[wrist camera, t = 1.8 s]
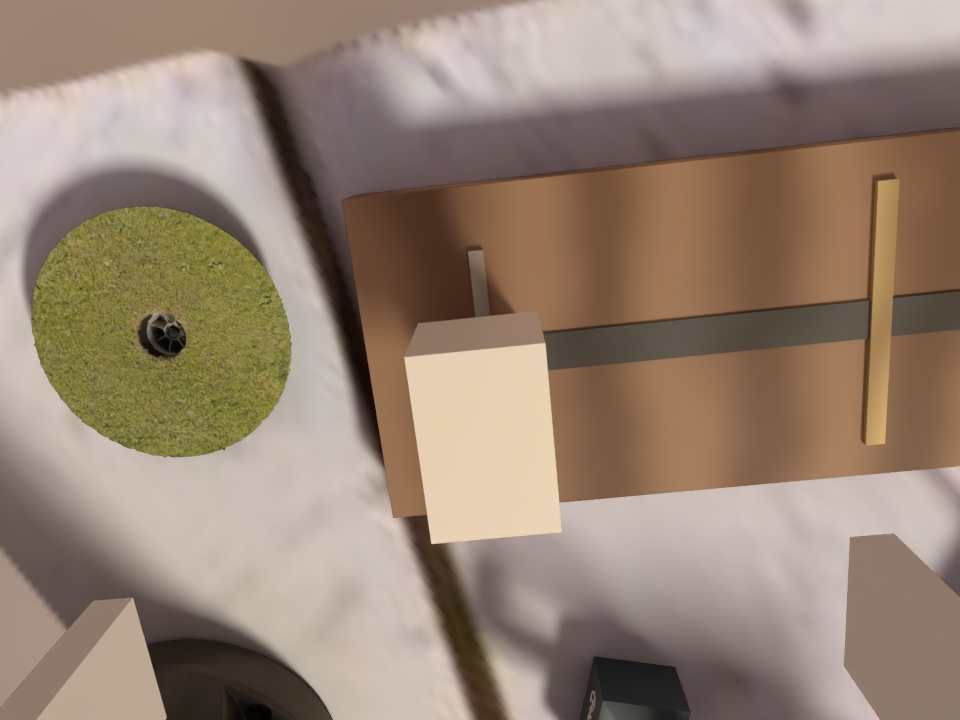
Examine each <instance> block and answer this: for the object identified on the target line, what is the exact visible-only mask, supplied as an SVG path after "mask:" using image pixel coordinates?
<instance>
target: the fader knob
mask: <svg viewBox="0 0 960 720" xmlns="http://www.w3.org/2000/svg"><path fill="white" fill-rule="evenodd" d="M404 359H405V366H406V373H407V379H408V386H409V393H410V400H411V407H412V414H413V420H414V427H415V434H416V441H417V448H418V455H419V462H420V468H421V475H422V482H423V489H424V496H425V503H426V509H427V516H428V523H429V530H430V537H431V544H436V543H447V542H459V541H470V540H481V539H492V538H503V537H515V536H526V535H537V534H548V533H559V532H562V528H561V516H560V505H559V493H558V482H557V470H556V459H555V447H554V436H553V424H552V413H551V401H550V390H549V378H548V367H547V355H546V344H545V339H544V336H543V332H542V328H541V325H540V321H539V317H538V313H537V311H533V312H523V313H514V314H504V315H494V316H485V317H475V318H465V319H456V320H446V321H436V322H427V323H418V325H417V327H416V330H415V332H414V335H413V337H412V340H411V342H410V345H409V347H408V349H407V352H406V354H405V357H404Z"/></svg>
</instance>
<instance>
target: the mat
mask: <svg viewBox="0 0 960 720" xmlns="http://www.w3.org/2000/svg"><path fill="white" fill-rule="evenodd" d="M37 277H38V279H37V280H36V285H35V288H34V293H33V299H34V301H33V302H32V333H33V336H34V339H35V344H34V345H35V347H36V349H37V352H38V356H39V359H40V364H41V366H42V368H43V369H44V372H45V374H46V375H47V377H48V379H49V382H50V384H51V385H52V386H53V388H54V389H55V390H56V392H57V393H58V394H59V396H60V398H61V399H62V400H63V401H64V402H65V403H66V404H67V406H68V407H69V408H70V409H71V411H72V412H73V413H74V414H76V416H77V417H78V418H80V419H82V422H84V423H85V424H87V425H88V426H90V427H92V428H93V429H95V430H97V432H98V433H99V434H101V435H103V436H104V437H108V438H109V439H110V440H112V441H115V442H117V443H119V444H121V445H122V446H124V447H127V448H130V449H136V450H137V451H140V452H144V453H149V454H151V455H159V456H164V457H166V456H171V457H190V456H197V455H204V454H209V453H212V452H215V451H218V450H221V449H223V450H225V448H226V446H230V445H233V444H234V443H236V442H238V441H241V440H242V439H243V437H244V438H245V437H246V436H248V435H249V434H250V433H251V432H253V431H254V430H255V429H256V428H257V427H258V426H259V425H260V424H261V423H262V421H263V420H264V419H265V418H266V417H267V416H268V415H269V414H270V413H271V412H272V410H273V409H274V406H275V405H276V404H277V402H278V401H279V399H280V396H281V394H282V392H283V391H282V390H284V387H285V383H286V381H287V377H288V374H289V371H290V368H289V365H290V362H291V344H292V343H291V341H290V338H291V335H290V332H289V324H288V321H287V317H286V315H285V310H284V308H283V303H281V301H282V299H281V298H280V297H279V294H278V291H277V290H276V288H275V286H274V283H273V281H272V280H271V278H270V277H269V276H268V274H267V272H266V270H265V268H264V267H263V266H262V265H261V264H260V263H259V262H258V261H257V259H256V258H255V257H254V256H253V255H252V254H251V253H250V252H249V250H247V249H246V248H245V247H244V246H243V245H242V244H241V243H240V242H239V241H238V240H236V239H235V238H234V237H232V236H231V235H229V234H228V233H226V232H225V231H223V230H221V229H220V228H219V227H217V226H215V225H213V224H211V223H208V222H207V221H205V220H203V219H200V218H198V217H196V216H193V215H191V214H190V213H184V212H183V211H177V210H172V209H167V208H165V209H164V208H160V207H145V206H143V207H132V208H129V207H128V208H124V209H121V208H119V209H116V210H111V211H107V212H105V213H102V214H99V215H98V216H97V217H93V218H91V219H88V220H87V221H85V222H83V223H81V225H80V226H76V227H75V228H74V229H72V230H71V231H70V232H69V233H68V234H67V235H66V238H63V239H61V242H59V243H57V246H56V248H53V250H52V251H51V252H50V253H49V256H48V257H47V259H46V260H45V263H44V265H43V266H42V267H41V269H40V272H39V275H38V276H37Z"/></svg>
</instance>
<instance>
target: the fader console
mask: <svg viewBox="0 0 960 720" xmlns="http://www.w3.org/2000/svg"><path fill="white" fill-rule="evenodd" d="M342 204H343V210H344V216H345V222H346V229H347V235H348V241H349V247H350V253H351V260H352V266H353V272H354V278H355V284H356V291H357V297H358V303H359V309H360V315H361V322H362V328H363V334H364V340H365V346H366V353H367V359H368V365H369V371H370V377H371V383H372V390H373V396H374V402H375V408H376V414H377V421H378V427H379V433H380V439H381V445H382V452H383V458H384V464H385V470H386V476H387V483H388V489H389V495H390V501H391V507H392V514H393V518H396V517H407V516H418V515H427V509H426V503H425V496H424V489H423V482H422V475H421V468H420V462H419V455H418V448H417V441H416V434H415V427H414V420H413V414H412V407H411V400H410V393H409V386H408V379H407V373H406V366H405V359H404V357H405V354H406V352H407V349H408V347H409V345H410V342H411V340H412V337H413V335H414V332H415V330H416V327H417V325H418V323H427V322H436V321H446V320H456V319H465V318H475V317H485V316H494V315H504V314H514V313H523V312H533V311H537V313H538V317H539V321H540V325H541V328H542V332H543V336H544V339H545V344H546V355H547V367H548V378H549V390H550V401H551V413H552V424H553V436H554V447H555V459H556V470H557V482H558V493H559V503H560V502H571V501H582V500H593V499H604V498H615V497H626V496H637V495H648V494H659V493H670V492H681V491H692V490H703V489H714V488H725V487H736V486H747V485H758V484H769V483H780V482H790V481H801V480H812V479H823V478H834V477H845V476H856V475H867V474H878V473H889V472H900V471H911V470H922V469H933V468H944V467H955V466H960V127H957V128H948V129H939V130H930V131H921V132H912V133H903V134H894V135H885V136H877V137H868V138H859V139H850V140H841V141H832V142H823V143H814V144H805V145H796V146H787V147H779V148H770V149H761V150H752V151H743V152H734V153H725V154H716V155H707V156H698V157H690V158H681V159H672V160H663V161H654V162H645V163H636V164H627V165H618V166H609V167H601V168H592V169H583V170H574V171H565V172H556V173H547V174H538V175H529V176H520V177H511V178H503V179H494V180H485V181H476V182H467V183H458V184H449V185H440V186H431V187H422V188H414V189H405V190H396V191H387V192H378V193H369V194H360V195H354V196H352V197H349V198H347V199H344V200H342Z"/></svg>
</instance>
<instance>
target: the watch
mask: <svg viewBox="0 0 960 720" xmlns="http://www.w3.org/2000/svg"><path fill="white" fill-rule="evenodd" d="M689 716H690V709H689V706H688V703H687V700H686V698H685V695H684V692H683V689H682V686H681V683H680V680H679V678H678V675H677V672H676V669H675V667H668V666H661V665H654V664H646V663H639V662H632V661H624V660H617V659H609V658H602V657H595V656H594V660H593V664H592V668H591V673H590V677H589V681H588V686H587V690H586V694H585V698H584V703H583V707H582V711H581V716H580V720H688V719H689Z"/></svg>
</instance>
